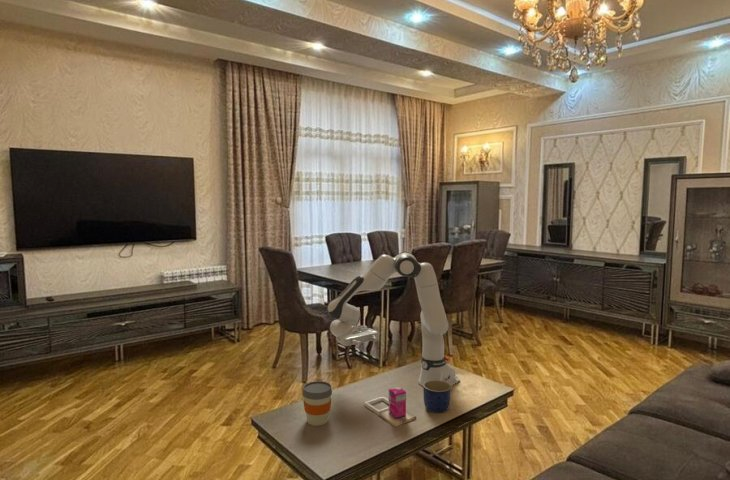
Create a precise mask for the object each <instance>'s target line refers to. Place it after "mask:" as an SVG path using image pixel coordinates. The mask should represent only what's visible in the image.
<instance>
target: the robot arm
mask: <svg viewBox="0 0 730 480" xmlns="http://www.w3.org/2000/svg"><path fill="white" fill-rule="evenodd" d="M396 273H397V274H399V276H402V277H404V278H405V277H406V278H413V279H414V283H415V288H416V293H417V297H418V301H419V306H420V308H421V312H420V328H421V336H422V337H421V340H422V341H421V342H422V350H421V351H422V354H421V357H420V358H421V360H420V362H421V366H420V373H419V374H420V375H419V377H418V378H419V379H418V384H419V385H420V386H421V387H423V385H424V383H425V382H427V381H430V380H440V381H444V382H447V383H448V384H450V386H451V387H453V386H454V385H456V384H458V383H459V382H458V381H461V379H460V377H458V376H456V371H455V368H454V367H452V366H451V365H450V364H449V363H447V362H449V361H450V360H451V359H450V357H449V356H445V341H444V334H446V333H447V332H448V330H449V322H448V318H447V314H446V311H445V307H444V304H443V301H442V298H441V293H440V288H439V283H438V279H437V275H436V272H435V269H434V266H433V265H432V264H431V263H429V262H418V261H417V259H416V257H415V256H414V254H413V253H411V252H409V251H402V252H400V253H397V254H395V255H393V256H392V255H389V254H381V255H380V256H379V257H378V258H377V259H376V260H375V261H374V262H373V263H371V266H370V267H369V268H368V270H366V271H365V272H364V273H363V274H361V275H358V276H356V277H355V278H354V279H352V280H351V282H349V283H348V285H347V286H346V287H344V289H343V290H342V291H341V292H340V293H339V294H337V296H336V297H334V299H332V300H331V301H330V302H329V303H328V305H327V307H326V312H327V314H328V316H329V318H330V319H333V320H332V321H331V323H330V325H329V330H330V332H331V334H332V335H333V336H335V337H336V338H335V340H336V341H338V343H339V344H340V345H341V346H343V347H349V346H353V345H354V346H358V347H359V346H362V343H367V342H371V341H372V342H373V343H376V342H378V339H379V332H378V331H377V330H375V329H373V328H370V327H368V326H367V325H359V323H360V320H361V316H362V313H361V310H360V308H359V307H356V306H355V305H352V304H349V303H348V302H349V301H350V300H351V299H352V297H353V296H354V295H356V294H357V293H359V292H361V291H371V292H373V291H379V290H380V289H382V288H383V287H384V286H385V285H386V283H387V282H388V280H389V279H390V277H392V275H393V274H396ZM457 382H458V383H457ZM455 383H456V384H455ZM453 384H454V385H453ZM452 385H453V386H452Z"/></svg>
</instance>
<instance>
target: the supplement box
mask: <svg viewBox="0 0 730 480" xmlns="http://www.w3.org/2000/svg"><path fill="white" fill-rule="evenodd" d="M388 400H389V404H388V407H389V414H390V415H391V416H393V417H394V418H395V419H397V418H401V417H405V416H406V411H407V391H406V390H405V389H403V388H402V387H400V386H396V387H393V388H389V389H388Z"/></svg>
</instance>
